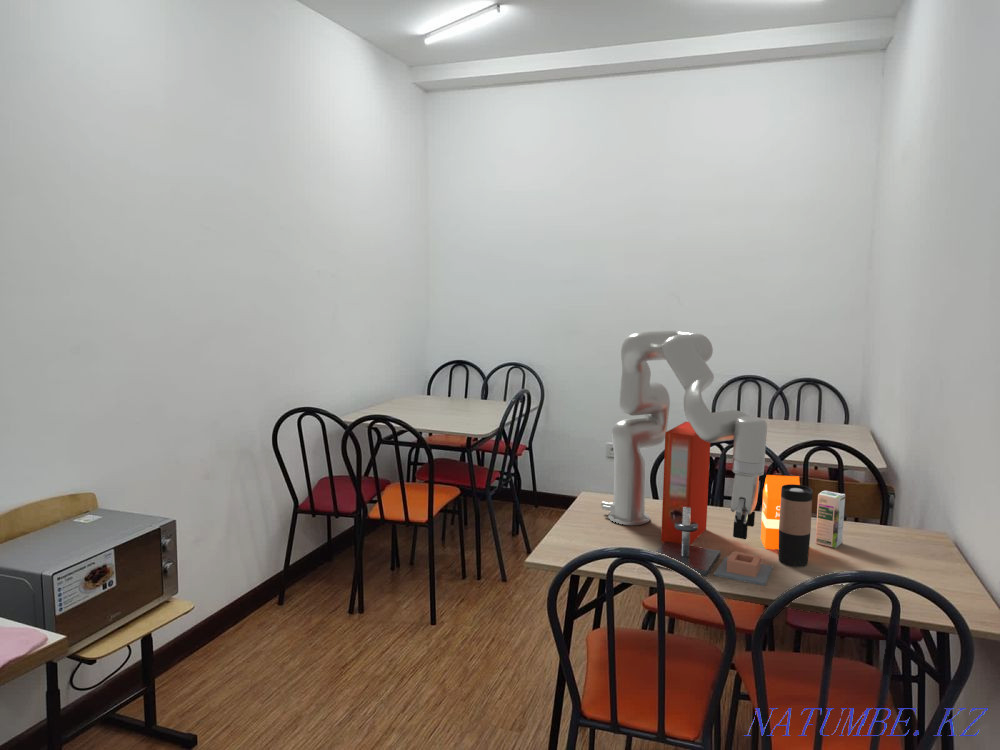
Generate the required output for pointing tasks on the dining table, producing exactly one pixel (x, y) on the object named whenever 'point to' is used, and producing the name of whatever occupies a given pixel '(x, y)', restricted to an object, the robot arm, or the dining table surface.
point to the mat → (759, 579)
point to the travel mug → (795, 525)
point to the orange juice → (773, 508)
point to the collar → (744, 564)
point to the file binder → (684, 481)
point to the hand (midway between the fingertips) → (743, 531)
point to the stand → (690, 548)
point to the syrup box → (830, 519)
